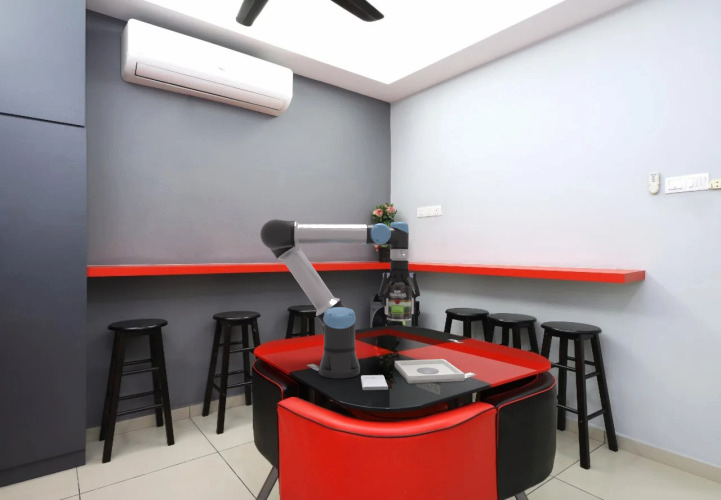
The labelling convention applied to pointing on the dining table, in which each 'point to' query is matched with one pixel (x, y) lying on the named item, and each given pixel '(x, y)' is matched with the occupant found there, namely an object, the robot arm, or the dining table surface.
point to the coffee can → (399, 302)
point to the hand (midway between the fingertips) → (399, 313)
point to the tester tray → (428, 371)
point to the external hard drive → (374, 382)
